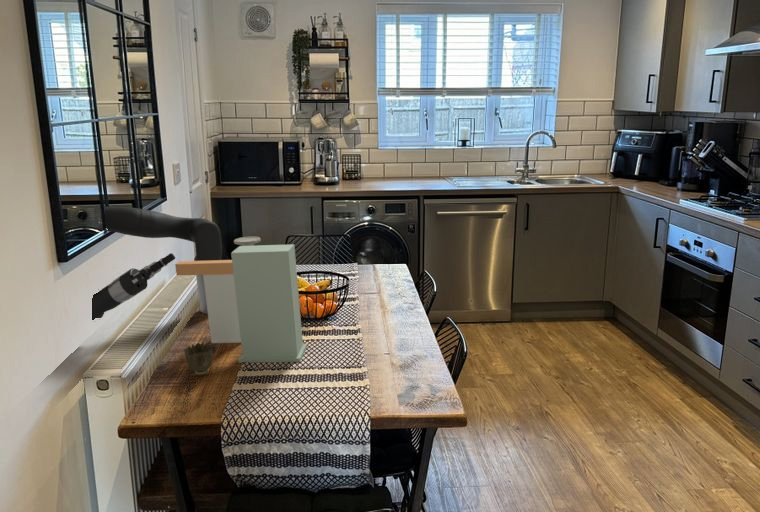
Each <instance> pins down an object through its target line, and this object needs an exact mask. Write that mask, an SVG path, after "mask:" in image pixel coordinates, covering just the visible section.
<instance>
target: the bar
mask: <svg viewBox="0 0 760 512" xmlns="http://www.w3.org/2000/svg"><path fill="white" fill-rule="evenodd" d="M174 265H175V266H174V267H175V275H176V276H196V275H211V274H233V265H232V259H221V260H210V261H194V260H185V261H183V260H179V261H177V263H175V264H174Z"/></svg>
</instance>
